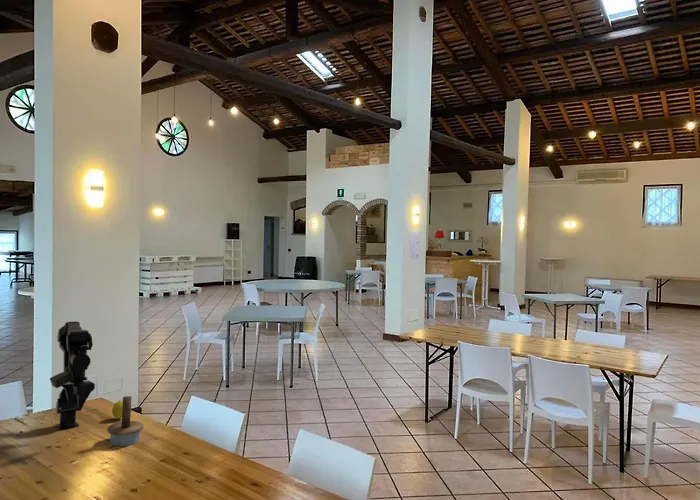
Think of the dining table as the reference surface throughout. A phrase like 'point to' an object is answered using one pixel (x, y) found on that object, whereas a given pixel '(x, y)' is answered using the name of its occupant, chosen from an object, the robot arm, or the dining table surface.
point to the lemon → (117, 409)
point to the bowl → (124, 439)
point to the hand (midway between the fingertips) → (74, 405)
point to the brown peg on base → (125, 421)
